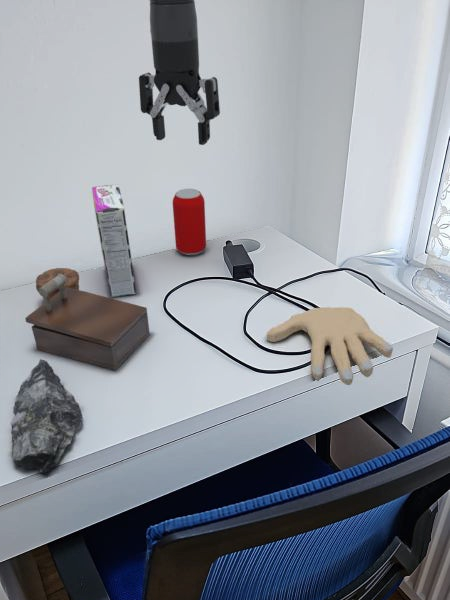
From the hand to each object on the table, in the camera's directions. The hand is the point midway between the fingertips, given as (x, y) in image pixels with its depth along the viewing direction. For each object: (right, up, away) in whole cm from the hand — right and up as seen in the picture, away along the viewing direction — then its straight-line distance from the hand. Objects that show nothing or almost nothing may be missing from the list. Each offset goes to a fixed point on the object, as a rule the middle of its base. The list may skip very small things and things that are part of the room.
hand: (181, 141), depth 104 cm
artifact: (-21, -29, 0) cm, 36 cm away
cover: (-14, -33, -13) cm, 38 cm away
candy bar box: (-12, -24, +5) cm, 28 cm away
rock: (-14, -52, -23) cm, 59 cm away
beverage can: (+1, -16, +15) cm, 22 cm away
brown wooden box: (-13, -37, -10) cm, 41 cm away
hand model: (+25, -32, -5) cm, 41 cm away
